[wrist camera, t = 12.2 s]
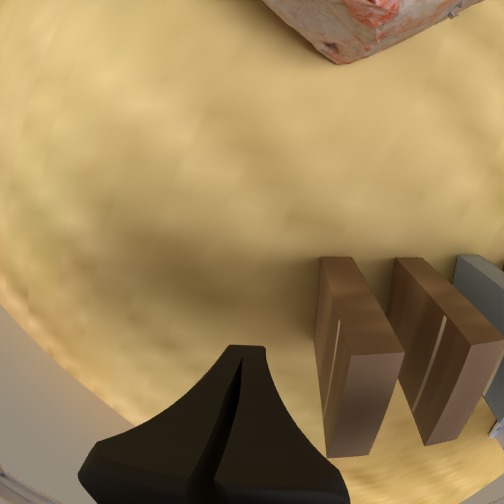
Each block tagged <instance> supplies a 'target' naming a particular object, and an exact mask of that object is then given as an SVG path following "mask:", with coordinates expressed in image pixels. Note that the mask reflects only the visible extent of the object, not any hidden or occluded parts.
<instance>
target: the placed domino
mask: <svg viewBox="0 0 504 504" xmlns="http://www.w3.org/2000/svg"><path fill="white" fill-rule="evenodd" d="M452 285H453V286H454V287H455V288H456V289H457V290H458V291H459V292H460V293H461V294H462V295H463V296H464V297H465V298H466V299H467V300H468V301H469V302H470V303H471V304H472V305H473V306H474V307H475V308H476V309H477V310H478V311H479V312H480V313H481V314H482V315H483V316H484V317H485V318H486V319H487V320H488V321H489V322H490V323H491V324H492V325H493V326H494V327H495V328H496V329H497V330H498V331H499V333H500V334H501V335H502V336H503V337H504V272H503V271H502V270H500V269H499V268H497V267H496V266H494V265H493V264H491V263H490V262H488V261H487V260H485V259H484V258H483V257H481V256H479V255H458V257H457V263H456V268H455V273H454V278H453V283H452ZM482 396H483V398H484V399H485V401H486V402H487V404H488V406H489V407H490V409H491V411H492V412H493V414H494V416H495V417H496V419H497V421H498V422H499V424H501V423H503V422H504V346H503V348H502V351H501V353H500V356H499V358H498V361H497V363H496V365H495V368H494V370H493V372H492V374H491V376H490V379H489V381H488V383H487V385H486V387H485V389H484V391H483V393H482Z"/></svg>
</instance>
